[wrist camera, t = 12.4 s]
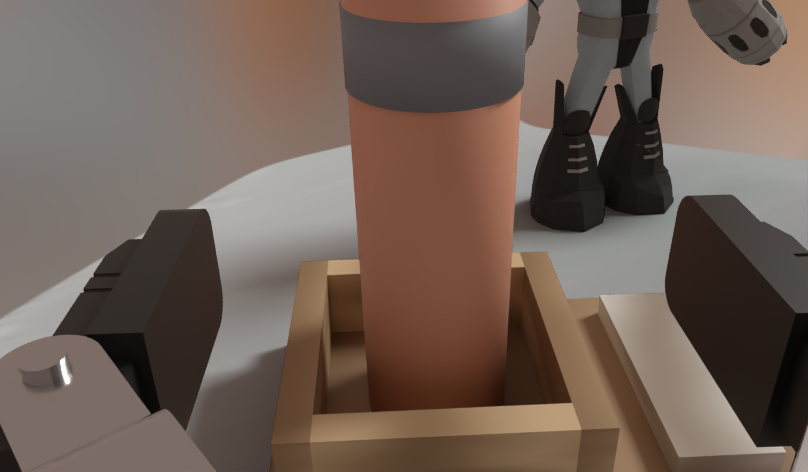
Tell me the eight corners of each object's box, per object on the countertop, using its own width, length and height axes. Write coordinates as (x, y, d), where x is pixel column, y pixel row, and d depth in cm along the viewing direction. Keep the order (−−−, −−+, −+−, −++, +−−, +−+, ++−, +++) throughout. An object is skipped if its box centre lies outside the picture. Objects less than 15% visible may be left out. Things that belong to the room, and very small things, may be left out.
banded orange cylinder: (494, 346, 26) (514, -84, 18) (516, 441, 22) (551, -56, 15) (367, 352, 25) (338, -77, 18) (366, 448, 22) (329, -49, 15)
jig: (697, 324, 29) (716, 237, 27) (837, 536, 20) (880, 430, 18) (299, 341, 29) (288, 255, 27) (266, 564, 20) (247, 460, 18)
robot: (712, 156, 44) (790, -238, 34) (775, 188, 40) (884, -249, 30) (411, 218, 38) (401, -240, 28) (450, 263, 34) (454, -254, 24)
